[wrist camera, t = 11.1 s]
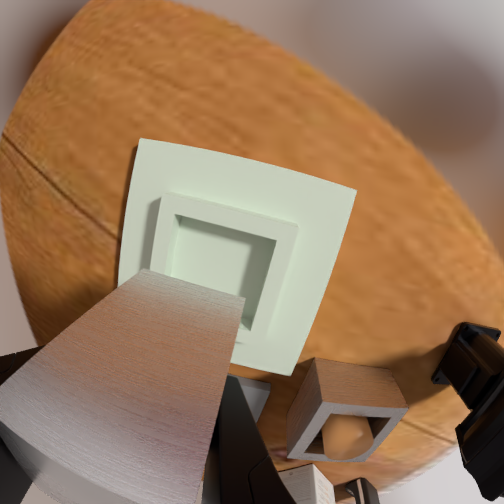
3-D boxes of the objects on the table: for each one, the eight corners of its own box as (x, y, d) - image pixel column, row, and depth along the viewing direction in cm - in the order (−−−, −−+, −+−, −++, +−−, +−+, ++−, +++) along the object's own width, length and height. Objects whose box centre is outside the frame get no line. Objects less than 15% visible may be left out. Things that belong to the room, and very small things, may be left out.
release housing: (389, 369, 20) (408, 408, 16) (354, 423, 22) (364, 461, 17) (314, 357, 20) (322, 401, 16) (286, 415, 22) (286, 457, 17)
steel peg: (245, 297, 10) (190, 519, 2) (223, 378, 11) (177, 552, 3) (143, 268, 10) (-19, 403, 2) (136, 350, 11) (39, 489, 4)
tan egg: (367, 390, 20) (382, 433, 15) (348, 418, 21) (358, 460, 16) (328, 385, 20) (337, 431, 15) (311, 414, 21) (316, 459, 16)
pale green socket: (352, 189, 17) (364, 191, 15) (290, 368, 21) (291, 388, 18) (146, 139, 17) (129, 135, 15) (121, 319, 21) (107, 334, 18)
